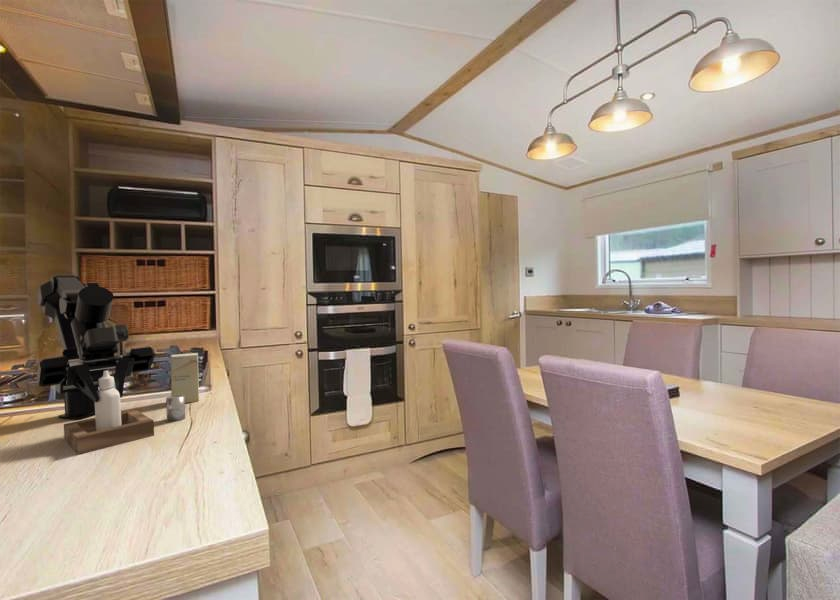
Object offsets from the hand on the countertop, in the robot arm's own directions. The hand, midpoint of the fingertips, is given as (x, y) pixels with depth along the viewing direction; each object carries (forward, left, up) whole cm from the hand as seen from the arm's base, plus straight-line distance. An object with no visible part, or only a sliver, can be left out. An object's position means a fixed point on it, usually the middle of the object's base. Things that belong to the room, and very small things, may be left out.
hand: (109, 398), depth 82 cm
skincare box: (-5, +25, -8) cm, 27 cm away
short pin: (+4, +12, -8) cm, 15 cm away
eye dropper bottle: (-1, +1, -7) cm, 7 cm away
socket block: (-1, +1, -8) cm, 8 cm away
